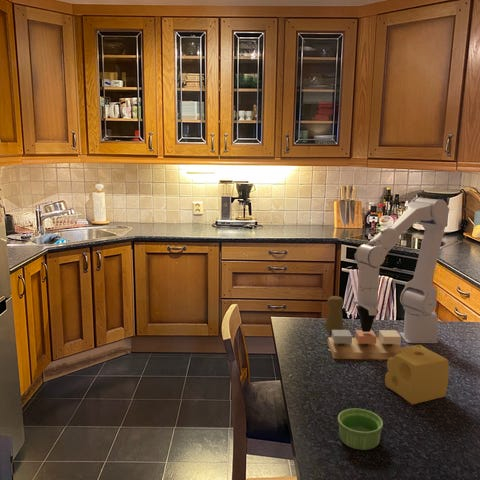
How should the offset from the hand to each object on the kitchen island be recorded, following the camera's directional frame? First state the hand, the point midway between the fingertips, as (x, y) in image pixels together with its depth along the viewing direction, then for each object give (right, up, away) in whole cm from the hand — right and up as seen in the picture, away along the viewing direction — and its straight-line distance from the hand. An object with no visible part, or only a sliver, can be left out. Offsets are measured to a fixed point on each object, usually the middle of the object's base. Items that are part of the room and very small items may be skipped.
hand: (365, 330), depth 141 cm
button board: (0, -6, +1) cm, 6 cm away
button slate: (-7, -3, +1) cm, 8 cm away
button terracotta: (0, -3, +1) cm, 3 cm away
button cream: (+7, -3, 0) cm, 8 cm away
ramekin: (-12, -15, -42) cm, 46 cm away
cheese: (+6, -11, -23) cm, 26 cm away
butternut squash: (-5, -3, +19) cm, 20 cm away
